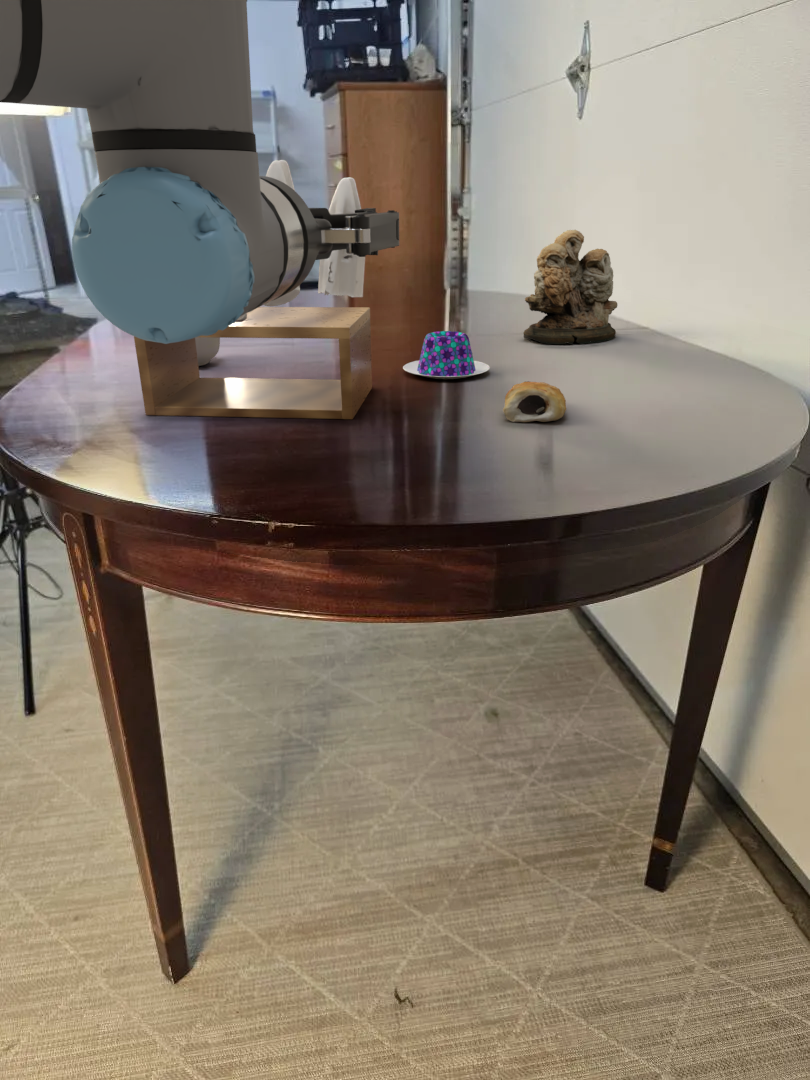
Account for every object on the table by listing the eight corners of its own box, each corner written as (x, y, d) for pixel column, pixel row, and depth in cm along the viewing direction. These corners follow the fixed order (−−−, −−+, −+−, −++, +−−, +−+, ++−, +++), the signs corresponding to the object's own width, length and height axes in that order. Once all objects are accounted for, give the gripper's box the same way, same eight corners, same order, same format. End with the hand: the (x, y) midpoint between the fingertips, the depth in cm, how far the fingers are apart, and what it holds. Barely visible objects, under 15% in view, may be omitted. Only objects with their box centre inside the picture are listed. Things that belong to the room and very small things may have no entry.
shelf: (145, 415, 88) (131, 325, 84) (192, 384, 102) (182, 306, 98) (352, 419, 86) (349, 327, 82) (372, 387, 99) (370, 307, 95)
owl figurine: (548, 349, 122) (556, 233, 115) (503, 338, 131) (508, 230, 124) (632, 338, 130) (644, 229, 123) (584, 328, 139) (592, 226, 132)
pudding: (452, 360, 115) (452, 324, 112) (507, 374, 106) (509, 335, 104) (385, 371, 108) (385, 333, 106) (439, 386, 99) (439, 345, 97)
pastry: (509, 401, 92) (511, 369, 91) (566, 404, 91) (569, 371, 89) (501, 422, 84) (503, 387, 82) (564, 426, 83) (567, 390, 81)
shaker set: (262, 313, 61) (248, 158, 57) (235, 308, 64) (220, 160, 60) (379, 298, 68) (375, 159, 64) (350, 294, 71) (345, 161, 67)
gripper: (94, 303, 50) (210, 269, 71) (416, 306, 48) (440, 270, 69) (73, 176, 47) (201, 178, 68) (416, 173, 45) (441, 177, 66)
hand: (321, 224), depth 68 cm, fingers closed on shaker set, 8 cm apart
